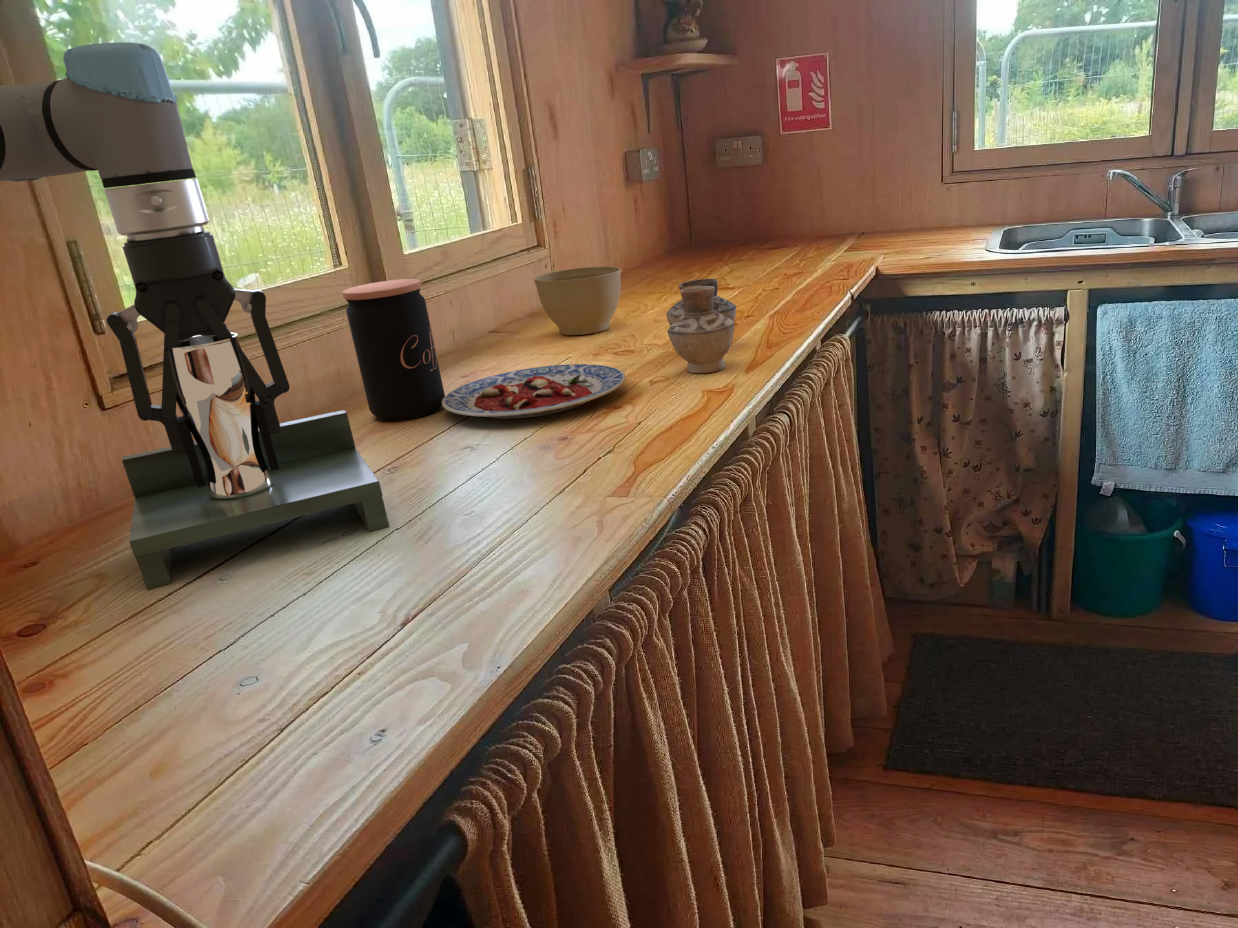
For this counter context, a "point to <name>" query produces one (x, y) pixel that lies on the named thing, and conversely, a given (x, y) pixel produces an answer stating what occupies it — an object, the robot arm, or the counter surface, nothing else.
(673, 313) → the pottery
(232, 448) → the beer glass
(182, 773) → the counter surface
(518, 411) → the ceramic plate
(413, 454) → the counter surface
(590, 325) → the planter bowl
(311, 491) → the shelf
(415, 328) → the coffee jar
